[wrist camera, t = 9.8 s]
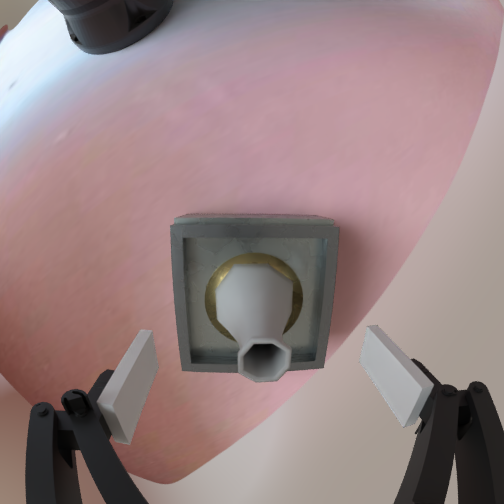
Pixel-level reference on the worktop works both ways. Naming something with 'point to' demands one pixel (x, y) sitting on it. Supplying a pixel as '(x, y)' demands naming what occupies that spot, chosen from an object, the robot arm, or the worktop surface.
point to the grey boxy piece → (252, 252)
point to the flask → (257, 318)
